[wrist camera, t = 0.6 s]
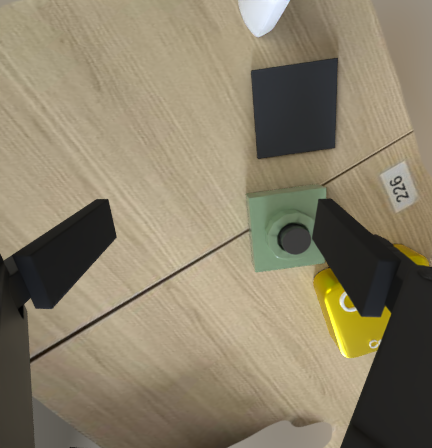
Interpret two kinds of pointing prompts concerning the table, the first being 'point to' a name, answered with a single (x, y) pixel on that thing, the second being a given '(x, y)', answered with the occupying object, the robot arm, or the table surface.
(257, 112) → the slate mat
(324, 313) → the element tile
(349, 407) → the table surface
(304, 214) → the button housing
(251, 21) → the eye dropper bottle
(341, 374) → the table surface
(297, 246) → the black round knob
